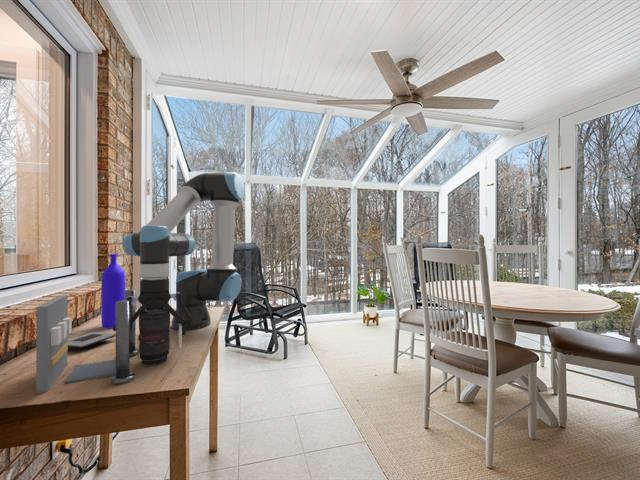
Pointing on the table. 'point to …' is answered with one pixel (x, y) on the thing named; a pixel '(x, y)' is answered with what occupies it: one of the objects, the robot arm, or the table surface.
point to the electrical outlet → (89, 339)
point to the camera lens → (154, 336)
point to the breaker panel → (51, 341)
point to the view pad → (92, 371)
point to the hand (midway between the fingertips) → (154, 350)
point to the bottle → (111, 292)
